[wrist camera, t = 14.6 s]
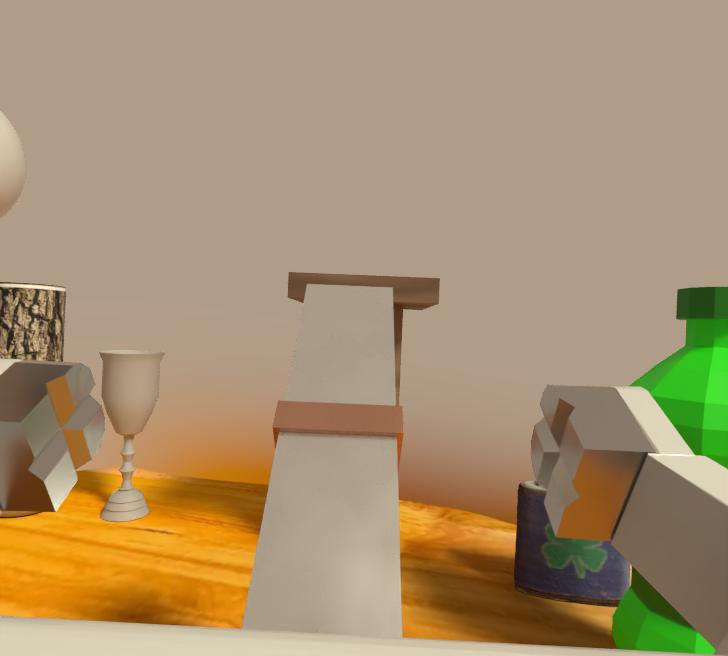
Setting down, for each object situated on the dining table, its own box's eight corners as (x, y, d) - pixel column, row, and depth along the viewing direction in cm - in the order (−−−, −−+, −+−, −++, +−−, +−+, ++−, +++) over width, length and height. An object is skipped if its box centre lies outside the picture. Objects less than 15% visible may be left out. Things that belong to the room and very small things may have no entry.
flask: (624, 594, 44) (629, 469, 44) (634, 612, 41) (640, 479, 41) (512, 578, 46) (517, 459, 46) (514, 594, 43) (519, 467, 43)
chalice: (166, 518, 57) (173, 354, 57) (97, 530, 53) (105, 354, 53) (149, 498, 63) (155, 350, 63) (86, 508, 59) (93, 349, 59)
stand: (425, 606, 41) (439, 278, 41) (274, 598, 41) (288, 272, 41) (412, 535, 55) (422, 291, 55) (299, 529, 55) (310, 286, 55)
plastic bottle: (809, 704, 32) (827, 296, 32) (817, 829, 23) (841, 278, 23) (629, 636, 38) (644, 296, 38) (586, 716, 30) (605, 283, 30)
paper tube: (-6, 500, 60) (4, 284, 60) (62, 496, 62) (70, 288, 62) (-26, 522, 53) (-16, 280, 53) (49, 516, 56) (59, 285, 56)
